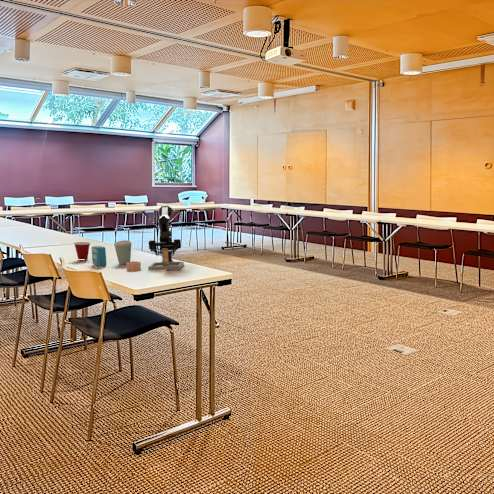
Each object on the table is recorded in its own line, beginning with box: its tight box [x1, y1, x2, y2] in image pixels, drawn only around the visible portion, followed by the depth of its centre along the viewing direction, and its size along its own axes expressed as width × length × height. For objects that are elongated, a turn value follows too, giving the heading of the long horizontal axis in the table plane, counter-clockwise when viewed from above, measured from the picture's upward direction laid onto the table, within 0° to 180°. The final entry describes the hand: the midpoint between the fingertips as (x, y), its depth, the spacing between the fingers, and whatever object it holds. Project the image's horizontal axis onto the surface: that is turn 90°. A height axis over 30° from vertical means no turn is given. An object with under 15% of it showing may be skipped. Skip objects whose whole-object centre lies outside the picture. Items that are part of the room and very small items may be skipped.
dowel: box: [161, 248, 169, 266], centre depth 319 cm, size 4×4×11 cm
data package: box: [91, 245, 107, 267], centre depth 341 cm, size 12×4×12 cm, turn 37°
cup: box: [125, 260, 142, 272], centre depth 317 cm, size 8×8×5 cm
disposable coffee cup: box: [114, 240, 132, 266], centre depth 339 cm, size 11×11×15 cm
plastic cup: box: [73, 241, 91, 260], centre depth 367 cm, size 11×11×12 cm
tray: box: [147, 261, 185, 272], centre depth 322 cm, size 16×18×2 cm
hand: (165, 255), depth 318 cm, fingers open, 9 cm apart
